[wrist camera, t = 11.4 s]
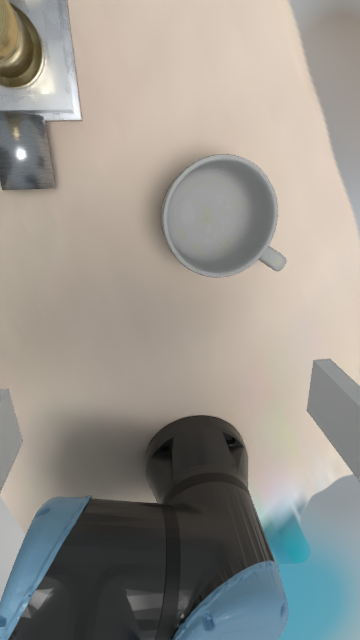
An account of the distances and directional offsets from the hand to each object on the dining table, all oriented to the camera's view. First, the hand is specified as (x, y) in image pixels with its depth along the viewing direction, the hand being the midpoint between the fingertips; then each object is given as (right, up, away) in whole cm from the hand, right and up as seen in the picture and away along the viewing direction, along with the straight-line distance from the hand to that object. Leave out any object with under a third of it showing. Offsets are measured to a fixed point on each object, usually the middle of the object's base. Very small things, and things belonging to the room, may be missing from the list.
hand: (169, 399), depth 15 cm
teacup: (+4, +15, +24) cm, 28 cm away
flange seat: (-15, +25, +17) cm, 34 cm away
